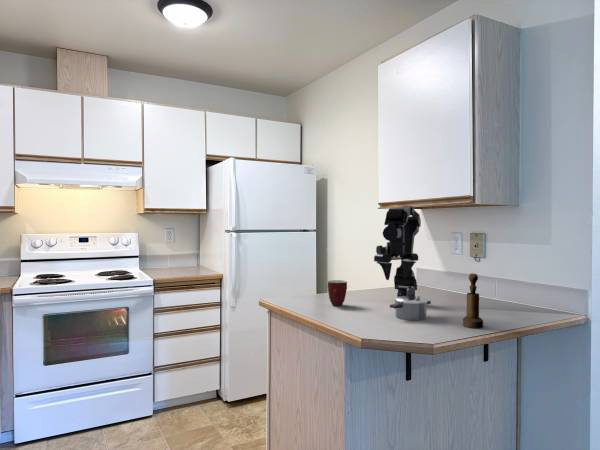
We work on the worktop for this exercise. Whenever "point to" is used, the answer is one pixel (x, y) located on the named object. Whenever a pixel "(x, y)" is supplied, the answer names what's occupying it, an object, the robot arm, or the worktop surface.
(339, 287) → the mug
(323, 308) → the worktop surface
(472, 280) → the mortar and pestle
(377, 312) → the worktop surface
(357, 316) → the worktop surface
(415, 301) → the lid
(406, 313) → the pot
